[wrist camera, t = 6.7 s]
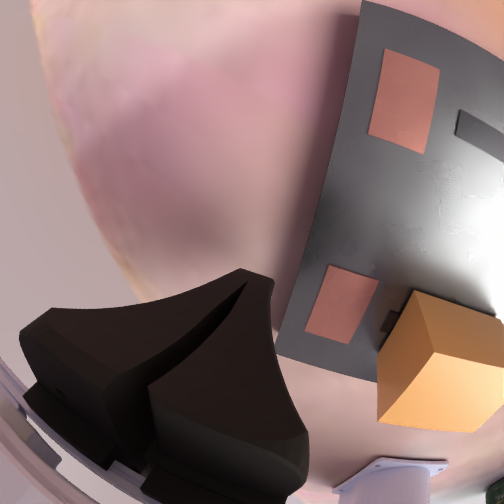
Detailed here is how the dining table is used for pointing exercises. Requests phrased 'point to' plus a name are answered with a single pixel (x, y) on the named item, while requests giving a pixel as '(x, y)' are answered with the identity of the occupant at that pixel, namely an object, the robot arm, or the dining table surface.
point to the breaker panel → (403, 194)
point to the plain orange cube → (441, 367)
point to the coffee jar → (495, 493)
